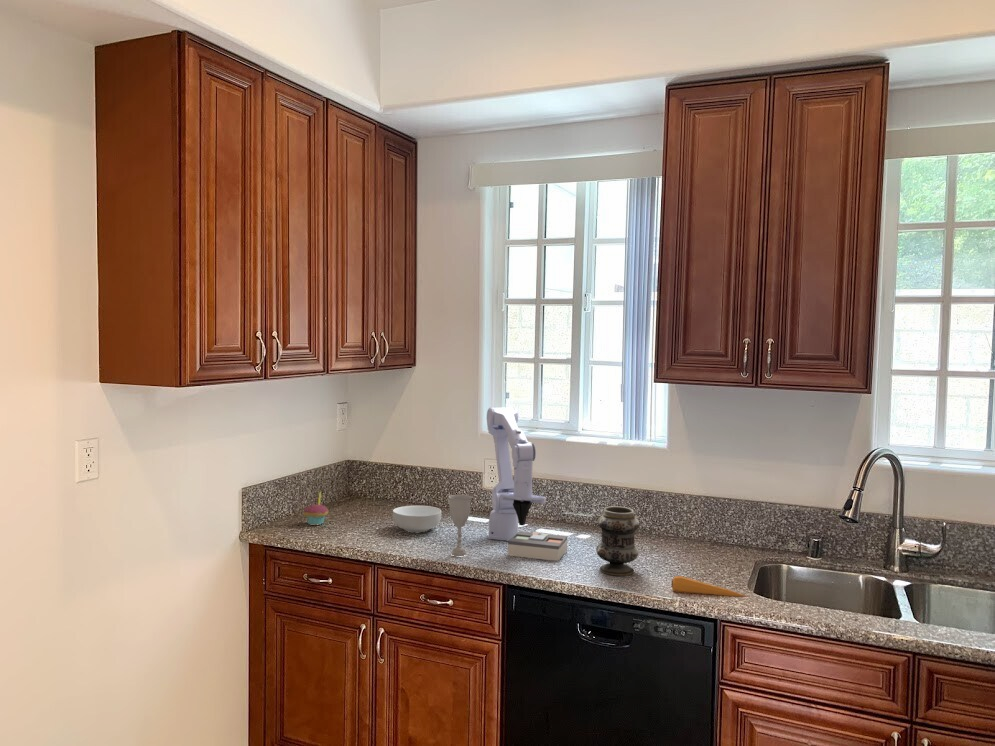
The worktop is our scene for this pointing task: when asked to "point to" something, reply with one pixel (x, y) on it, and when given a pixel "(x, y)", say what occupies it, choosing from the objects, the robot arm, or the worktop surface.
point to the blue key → (538, 537)
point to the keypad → (537, 546)
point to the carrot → (699, 587)
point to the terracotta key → (554, 541)
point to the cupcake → (316, 512)
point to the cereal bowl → (416, 518)
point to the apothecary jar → (617, 540)
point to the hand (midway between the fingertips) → (522, 524)
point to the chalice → (459, 518)
